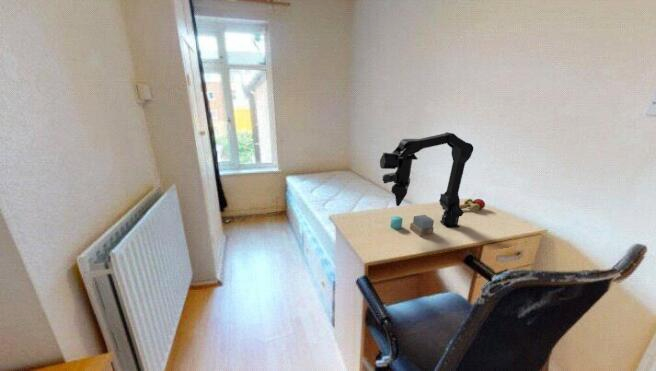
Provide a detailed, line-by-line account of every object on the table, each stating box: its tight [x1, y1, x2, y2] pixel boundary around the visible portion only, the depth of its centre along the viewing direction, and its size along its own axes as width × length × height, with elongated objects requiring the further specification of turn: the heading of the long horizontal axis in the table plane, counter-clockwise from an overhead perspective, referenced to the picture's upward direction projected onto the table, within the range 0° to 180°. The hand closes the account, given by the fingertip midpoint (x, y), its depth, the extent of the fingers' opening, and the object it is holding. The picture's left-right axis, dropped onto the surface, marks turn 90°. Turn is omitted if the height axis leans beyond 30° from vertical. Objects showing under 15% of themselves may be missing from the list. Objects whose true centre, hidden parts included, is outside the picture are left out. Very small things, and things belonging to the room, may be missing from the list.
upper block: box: [412, 214, 435, 229], centre depth 114 cm, size 6×6×4 cm
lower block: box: [409, 222, 435, 237], centre depth 115 cm, size 7×7×4 cm
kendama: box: [459, 198, 486, 213], centre depth 138 cm, size 8×6×18 cm
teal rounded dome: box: [390, 215, 403, 231], centre depth 118 cm, size 5×5×4 cm
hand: (398, 202), depth 115 cm, fingers open, 9 cm apart
